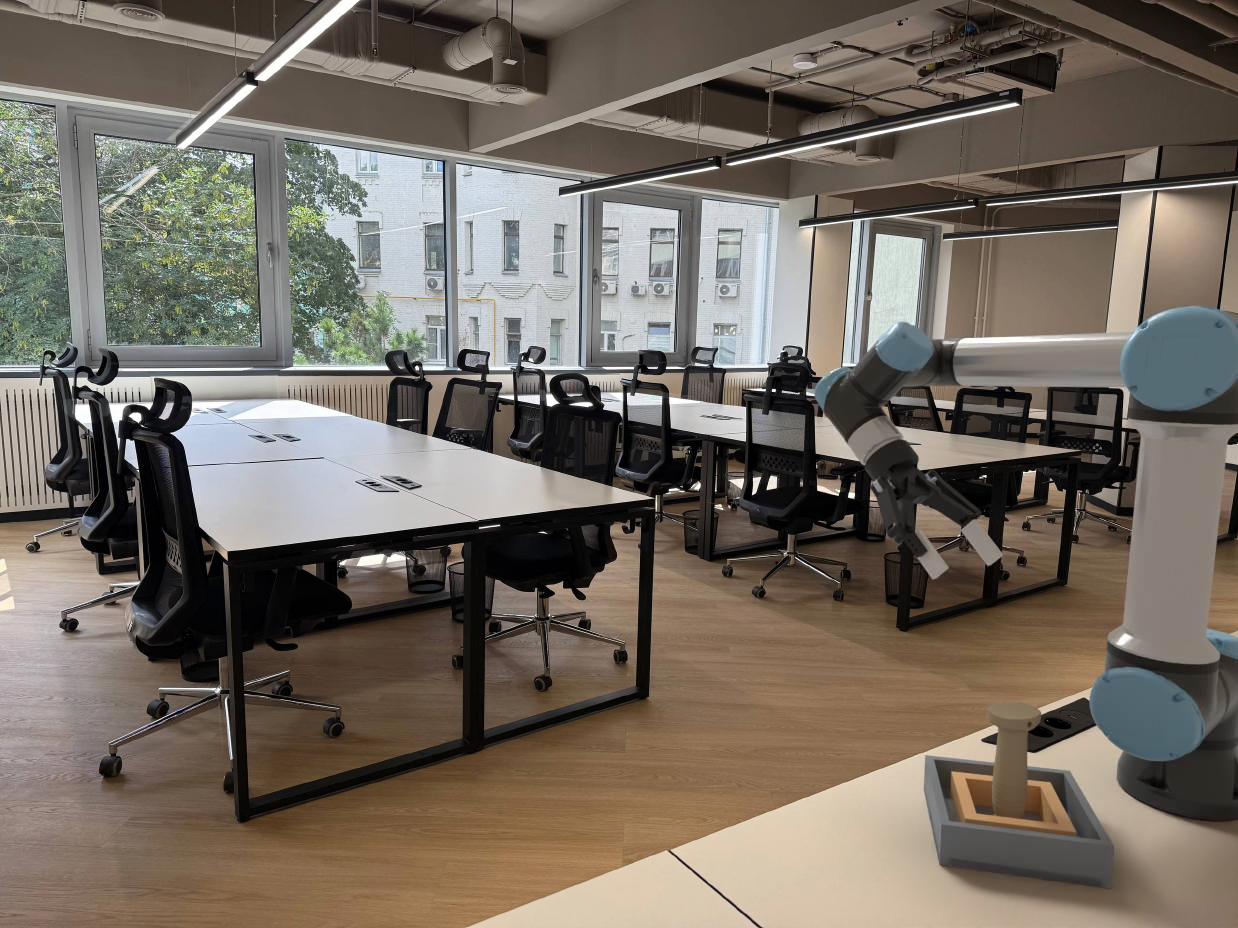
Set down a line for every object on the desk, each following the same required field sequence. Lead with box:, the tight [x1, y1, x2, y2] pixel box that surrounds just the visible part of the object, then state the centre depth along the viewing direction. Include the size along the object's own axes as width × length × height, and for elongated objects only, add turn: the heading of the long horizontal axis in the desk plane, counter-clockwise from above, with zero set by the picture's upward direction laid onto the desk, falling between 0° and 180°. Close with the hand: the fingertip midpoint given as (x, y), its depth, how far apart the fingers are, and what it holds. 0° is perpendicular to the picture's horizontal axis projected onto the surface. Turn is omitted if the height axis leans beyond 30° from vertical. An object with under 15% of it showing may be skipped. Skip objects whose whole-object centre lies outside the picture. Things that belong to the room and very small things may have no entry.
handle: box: [986, 701, 1042, 819], centre depth 103 cm, size 5×6×15 cm
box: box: [923, 754, 1115, 889], centre depth 104 cm, size 18×18×5 cm
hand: (969, 567), depth 118 cm, fingers open, 13 cm apart
